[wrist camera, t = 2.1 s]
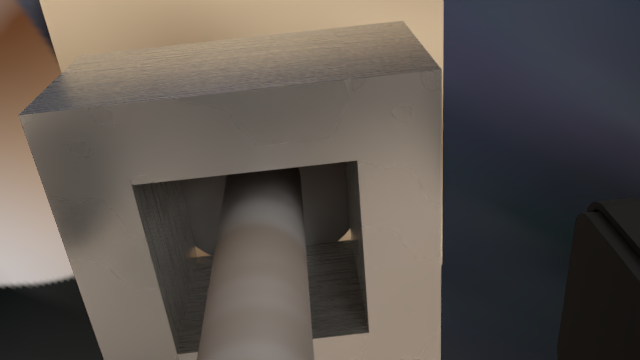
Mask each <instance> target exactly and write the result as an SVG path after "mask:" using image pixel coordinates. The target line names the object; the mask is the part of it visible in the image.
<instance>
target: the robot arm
mask: <svg viewBox="0 0 640 360" xmlns="http://www.w3.org/2000/svg"><path fill="white" fill-rule="evenodd" d="M557 355H558V360H640V201H639V200H637V199H636V198H625V199H615V200H605V201H596V202H593V203H591V204H590V206H589V207H588V210H587V213H581V214H579V215H578V217H577V219H576V223H575V229H574V236H573V243H572V250H571V257H570V263H569V270H568V277H567V284H566V291H565V297H564V304H563V311H562V318H561V324H560V331H559V338H558V345H557Z"/></svg>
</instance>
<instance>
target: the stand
mask: <svg viewBox="0 0 640 360" xmlns="http://www.w3.org/2000/svg"><path fill="white" fill-rule="evenodd" d="M39 1H40V4H41V7H42V11H43V14H44V17H45V21H46V24H47V27H48V30H49V34H50V37H51V40H52V44H53V47H54V50H55V54H56V57H57V60H58V63H59V67H60V70H61V73H62V72H63V71H65V70H66V69H67V68H68V67H69V66H70V65H71V64H72V63H73V62H74V61H75V60H76V59H77V58H78V57H79V56H80V55H87V54H96V53H106V52H115V51H124V50H134V49H143V48H152V47H162V46H171V45H180V44H190V43H199V42H209V41H218V40H227V39H237V38H246V37H255V36H265V35H274V34H283V33H293V32H302V31H312V30H321V29H330V28H340V27H349V26H358V25H368V24H377V23H386V22H396V21H404V23H405V24H406V25H407V26H408V28H409V29H410V30H411V32H412V33H413V34H414V35H415V37H416V38H417V39H418V40H419V42H420V43H421V44H422V45H423V47H424V48H425V49H426V50H427V52H428V53H429V54H430V55H431V57H432V58H433V59H434V60H435V62H436V63H437V64H438V65H439V67H440V68H441V69H442V145H441V264H442V185H443V0H39ZM180 183H181V187H182V192H183V196H184V201H185V205H186V209H187V214H188V218H189V223H190V227H191V232H192V236H193V240H194V245H195V249H196V254H197V257H200V256H209V255H214V257H213V263H212V269H211V275H210V282H209V288H208V294H207V300H206V306H205V312H204V318H203V324H202V331H201V337H200V343H199V349H198V355H197V360H314V350H313V336H312V323H311V309H310V295H309V282H308V268H307V255H306V245H308V244H317V243H326V242H335V241H344V240H351V233H350V220H349V208H348V195H347V183H346V170H345V162H339V163H330V164H321V165H312V166H303V167H293V168H284V169H275V170H266V171H257V172H248V173H239V174H230V175H221V176H211V177H202V178H193V179H184V180H180Z"/></svg>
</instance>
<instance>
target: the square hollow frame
mask: <svg viewBox="0 0 640 360" xmlns="http://www.w3.org/2000/svg"><path fill="white" fill-rule="evenodd" d="M19 118H20V121H21V124H22V127H23V130H24V132H25V135H26V138H27V141H28V144H29V146H30V149H31V153H32V155H33V158H34V161H35V164H36V167H37V170H38V172H39V175H40V178H41V181H42V184H43V187H44V190H45V192H46V195H47V198H48V201H49V204H50V207H51V210H52V212H53V215H54V218H55V221H56V224H57V227H58V230H59V232H60V235H61V238H62V241H63V244H64V247H65V250H66V253H67V255H68V258H69V261H70V264H71V267H72V270H73V273H74V275H75V278H76V281H77V284H78V287H79V290H80V293H81V295H82V298H83V301H84V304H85V307H86V310H87V313H88V315H89V318H90V321H91V324H92V327H93V330H94V333H95V335H96V338H97V341H98V344H99V347H100V350H101V353H102V356H103V358H104V360H197V355H198V349H199V343H200V337H201V331H202V324H203V318H204V312H205V306H206V300H207V294H208V288H209V282H210V275H211V269H212V263H213V257H214V255H209V256H200V257H197V254H196V249H195V245H194V240H193V236H192V232H191V227H190V223H189V218H188V214H187V209H186V205H185V201H184V196H183V192H182V187H181V183H180V180H184V179H193V178H202V177H211V176H221V175H230V174H239V173H248V172H257V171H266V170H275V169H284V168H293V167H303V166H312V165H321V164H330V163H339V162H345V170H346V183H347V195H348V208H349V220H350V233H351V240H344V241H335V242H326V243H317V244H308V245H306V255H307V268H308V282H309V295H310V309H311V323H312V336H313V350H314V360H441V145H442V69H441V68H440V67H439V65H438V64H437V63H436V62H435V60H434V59H433V58H432V57H431V55H430V54H429V53H428V52H427V50H426V49H425V48H424V47H423V45H422V44H421V43H420V42H419V40H418V39H417V38H416V37H415V35H414V34H413V33H412V32H411V30H410V29H409V28H408V26H407V25H406V24H405V23H404V21H396V22H386V23H377V24H368V25H358V26H349V27H340V28H330V29H321V30H312V31H302V32H293V33H283V34H274V35H265V36H255V37H246V38H237V39H227V40H218V41H209V42H199V43H190V44H180V45H171V46H162V47H152V48H143V49H134V50H124V51H115V52H106V53H96V54H87V55H80V56H79V57H78V58H77V59H76V60H75V61H74V62H73V63H72V64H71V65H70V66H69V67H68V68H67V69H66V70H65V71H63V72H62V73H61V74H60V75H59V76H58V77H57V78H56V79H55V80H54V81H53V82H52V83H51V84H50V85H49V86H48V87H47V88H46V89H45V90H44V91H43V92H42V93H41V94H40V95H39V96H38V97H37V98H36V99H35V100H34V101H33V102H32V103H31V104H29V105H28V107H26V109H24V111H22V112H21V113H20V114H19Z"/></svg>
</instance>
